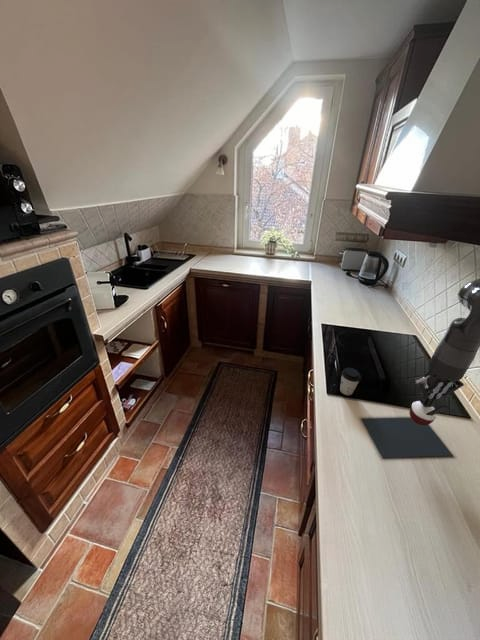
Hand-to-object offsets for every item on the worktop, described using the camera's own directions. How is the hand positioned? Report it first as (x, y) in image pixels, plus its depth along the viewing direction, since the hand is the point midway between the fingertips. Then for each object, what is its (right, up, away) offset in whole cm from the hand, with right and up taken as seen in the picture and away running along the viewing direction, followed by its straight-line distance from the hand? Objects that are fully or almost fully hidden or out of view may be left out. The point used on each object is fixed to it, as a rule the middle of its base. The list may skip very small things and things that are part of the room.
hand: (425, 404), depth 73 cm
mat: (-1, -14, +9) cm, 16 cm away
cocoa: (0, -6, +3) cm, 7 cm away
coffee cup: (-12, -4, +26) cm, 29 cm away
